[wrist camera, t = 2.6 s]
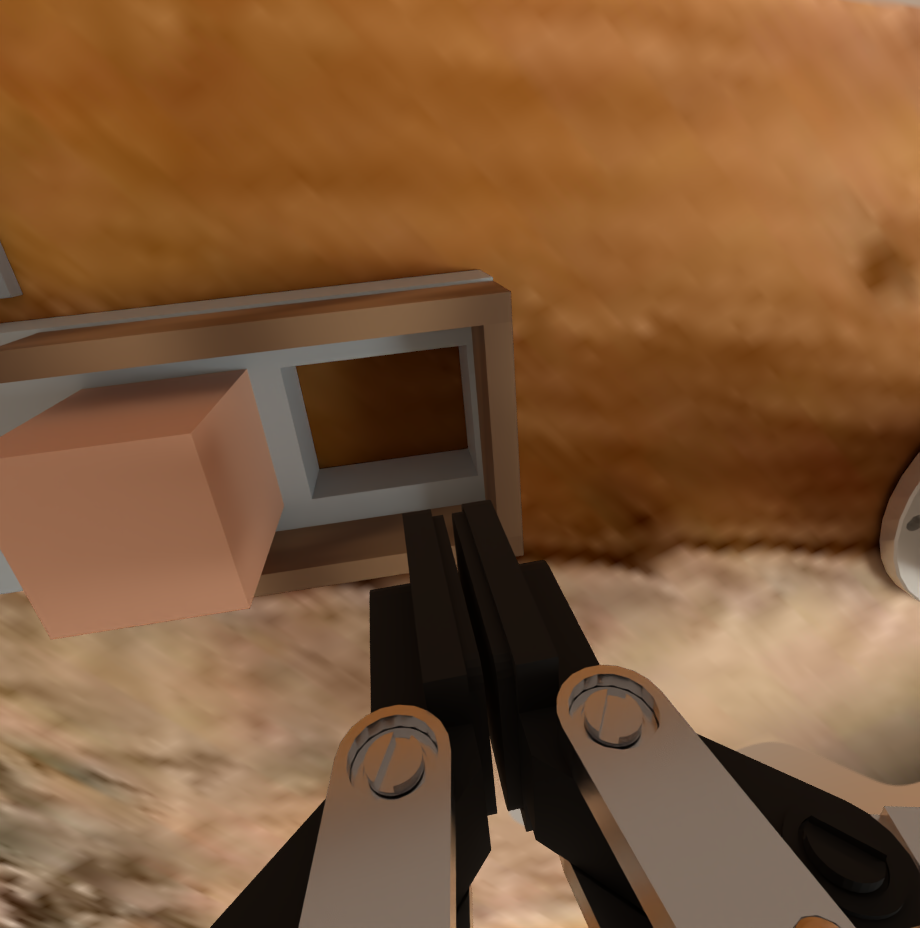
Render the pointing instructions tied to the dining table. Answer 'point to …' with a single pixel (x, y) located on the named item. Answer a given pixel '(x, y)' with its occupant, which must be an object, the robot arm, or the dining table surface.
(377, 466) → the deck
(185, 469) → the block
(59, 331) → the channel walls
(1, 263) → the coaster
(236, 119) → the dining table surface
